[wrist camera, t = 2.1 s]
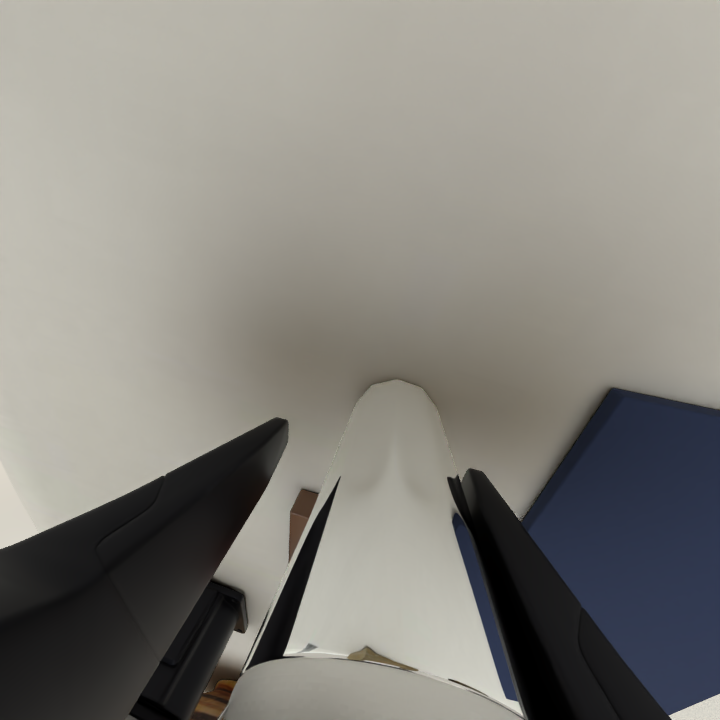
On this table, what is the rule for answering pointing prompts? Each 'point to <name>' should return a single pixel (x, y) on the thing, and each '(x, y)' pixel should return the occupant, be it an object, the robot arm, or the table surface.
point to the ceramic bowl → (214, 701)
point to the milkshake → (386, 590)
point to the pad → (643, 538)
